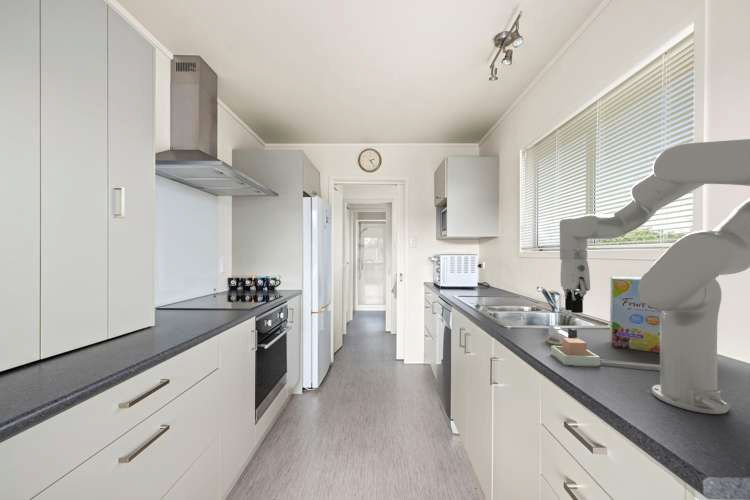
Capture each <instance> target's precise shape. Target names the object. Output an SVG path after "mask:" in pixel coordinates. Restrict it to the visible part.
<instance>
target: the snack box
mask: <svg viewBox="0 0 750 500" xmlns="http://www.w3.org/2000/svg"><path fill="white" fill-rule="evenodd" d="M642 277H643V276H641V277H640V276H613V275H611V276H610V292H609V293H610V295H609V296H610V301H609V303H610V304H609V305H610V306H609V307H610V308H609V311H610V312H609V315H610V316H609V333H610V334H609V341H610V344H611V346H612V347H616V348H621V349H628V350H629V349H631V350H636V351H643V352H644V351H645V352H648V353H649V352H652V353H656V354H657V353H658V354H660V318H661V313H662V311H660V310H656V309H653V308H651V307H649V306H648V305H646V304H645V303H644V302H643V301H642V300H641V299H640V297H639V294H638V284H639V281H640V280H641V278H642Z"/></svg>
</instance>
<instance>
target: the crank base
mask: <svg viewBox="0 0 750 500" xmlns="http://www.w3.org/2000/svg"><path fill="white" fill-rule="evenodd" d="M545 340H546V343H548V344H550V345H553V346H562V342H561V341H554V340H550V339H549V337H546V339H545Z"/></svg>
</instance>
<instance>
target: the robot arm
mask: <svg viewBox="0 0 750 500" xmlns="http://www.w3.org/2000/svg"><path fill="white" fill-rule="evenodd" d="M652 171H653V172H652V173H651V174H649V175H647V176H646V177H644V178H643V179H641V180H640V181H638V182H637V183H635V184H634V185H632V187H631V188H630V195H631V198H632V199H631V201H629V202H628V203H627V204H626V205H624V206H623V207H622V208H620V209H618V210H617V211H615V212H613V213H611V214H601V213H600V214H598V213H595V214H594V213H591V214H585V215H581V216H577V217H575V216H574V217H573V216H572V217H565V218H562V219H561V220H559V221H560V222H559V260H561V261H560V262H561V263H560V275H559V276H560V287H562V290H563V292H564V306H565V307H564V310H566V311H570V312H571V313H573V314H582V313H584V302H583V301H584V299H585V298H584V297H585V295H586V294H587V292H589V291H590V290H591V278H590V276H591V275H590V269H589V262H588V240H614V239H618V238H621V237H623V236H625V235H626V234H628V233H630V232H632V231H634V230H637V229H638V228H639V227H642V226H643V225H644V224H646V223H647V222H648V221H649V220H651V218H653V216H655V214H656V213H657V212H658V211H659V210H660V209H662V208H665V206H668V205H670V204H672V203H673V202H675V201H677V200H678V199H680V198H682V197H684V196H686V195H687V194H690V193H692V192H693V191H695V190H698V189H699V188H701V187H702V186H704V185H706V184H707V185H732V186H734V185H735V186H745V187H746V186H747V187H750V138H745V139H732V140H719V141H704V142H703V141H701V142H685V143H678V144H676V145H673V146H670V147H668V148H666V149H665V150H663V151H661V153H659V155H657V156H656V158H655V160H654V162H653V165H652ZM749 268H750V198H748V199H747V200H745V201H744V202H742V203H741V204H740V205H739V206H737V207H736V208H735V209H734V210H733V211H732V212H731V213H730V214H729V216H727V218H726V219H724V220H723V221H722V222H721V223H720V224H719V225H717V227H715V228H714V229H712V230H699V231H693V232H690V233H688V234H686V235H684V236H681V238H678V239H677V240H676V241H675V242H674V243H672V244H671V245H670V246H669V247H668V248H667V249H666V251H665V252H664V253H663V254H662V255H661V256H660V257H659V258H657V260H656V261H655V262H654V263H652V266H650V268H648V270H647V271H645V273H644V274H643V275H642V276H641V277H642V278H641V280H640V281H639V284H638V294H639V297H640V299H641V300H642V301H643V302H644V303H645V304H646V305H648V306H649V307H651V308H653V309H656V310H660V311H662V313H661V318H660V353H659V365H660V371H659V384H654V385H653V386H652V387H651V394H652V395H653V396H654V397H656V398H657V399H659V400H660V401H662V402H664V403H667V404H668V405H671V406H675V407H677V408H680V409H684V410H687V411H691V412H696V413H700V414H701V413H702V414H708V415H723V414H726V413H727V412H728V411H729V410H730V409H731V408H732V406H731V404H730V403H728V402H726V401H725V400H722V391H719V390H718V321H719V314H720V313H719V312H720V307H721V304H722V303H721V302H722V295H723V293H722V287H721V285H720V283H719V282H718V280H717V278H718V277H719V276H724V275H725V276H728V275H733V274H739V273H741V272H745V271H746V270H748V269H749Z"/></svg>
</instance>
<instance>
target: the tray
mask: <svg viewBox="0 0 750 500" xmlns="http://www.w3.org/2000/svg"><path fill="white" fill-rule="evenodd" d="M550 348H551V350H550V351H551V356H553V357H554V358H555V359H556V358H557V360H558V362H560V363H561V362H562V363H561V364H562V365H564V366H568V365H574V367H592V368H594V367H595V368H600V367H601V365H600V359H601V357H600V356H599V355H597V354H596V353H593V352H592V351H591V350H589V349H587V356H575V355H565V354H564V353H563V352H562V345H550Z"/></svg>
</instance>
